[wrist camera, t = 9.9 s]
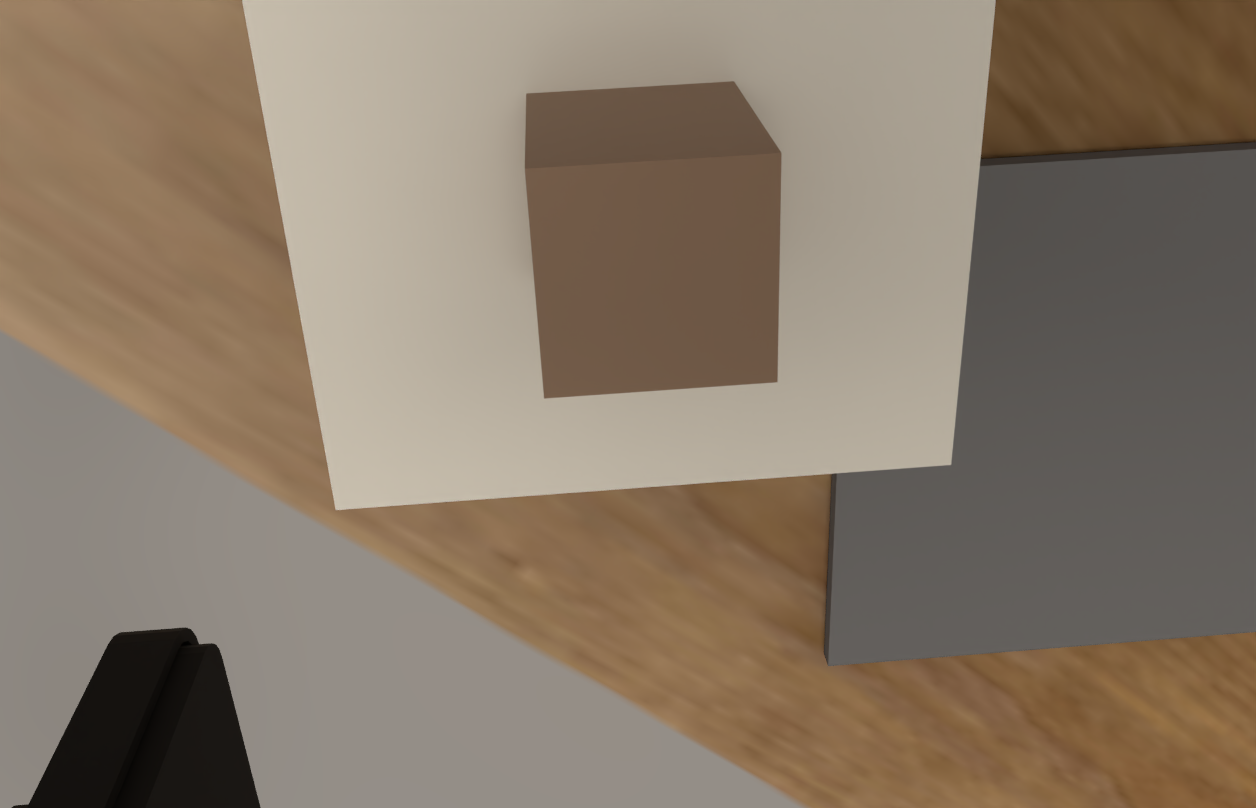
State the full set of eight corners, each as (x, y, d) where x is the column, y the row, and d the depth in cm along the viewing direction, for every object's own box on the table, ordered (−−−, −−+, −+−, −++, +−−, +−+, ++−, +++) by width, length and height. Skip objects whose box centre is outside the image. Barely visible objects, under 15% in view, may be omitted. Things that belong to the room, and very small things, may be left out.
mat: (1442, 130, 32) (1457, 136, 31) (1308, 615, 39) (1319, 626, 39) (845, 167, 31) (850, 174, 31) (824, 653, 39) (828, 666, 38)
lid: (1001, -224, 22) (1146, -225, 17) (940, 447, 28) (1030, 596, 23) (218, -186, 21) (118, -174, 16) (340, 491, 28) (297, 653, 23)
